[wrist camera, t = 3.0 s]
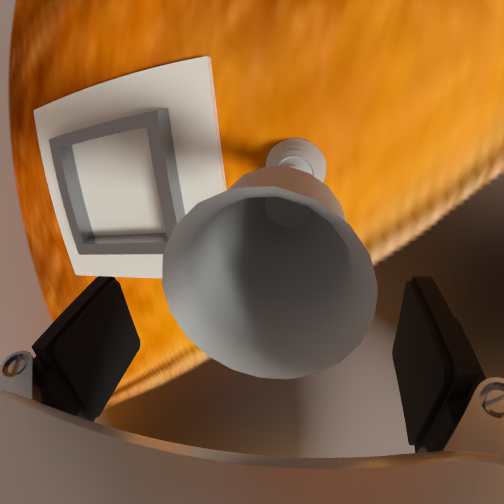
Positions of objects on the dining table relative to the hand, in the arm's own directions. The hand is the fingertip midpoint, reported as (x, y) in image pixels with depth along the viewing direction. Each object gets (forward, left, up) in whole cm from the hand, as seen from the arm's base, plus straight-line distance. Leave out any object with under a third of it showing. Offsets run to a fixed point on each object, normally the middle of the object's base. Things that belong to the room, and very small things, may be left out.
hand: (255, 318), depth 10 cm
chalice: (0, 0, -19) cm, 18 cm away
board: (+16, 0, -18) cm, 24 cm away
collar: (+16, 0, -18) cm, 24 cm away
